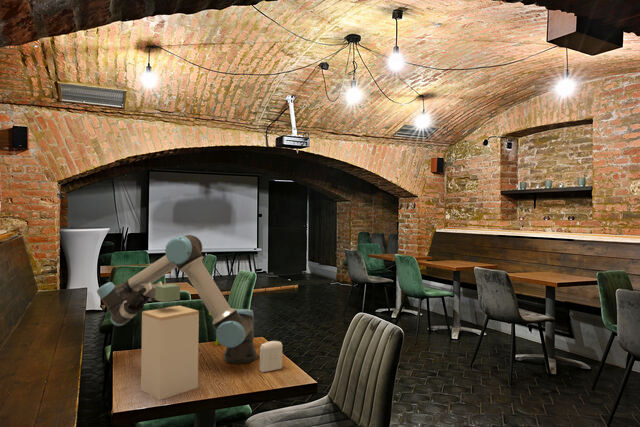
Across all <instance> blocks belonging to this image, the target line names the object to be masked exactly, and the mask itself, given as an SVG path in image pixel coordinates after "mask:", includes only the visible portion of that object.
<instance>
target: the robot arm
mask: <svg viewBox="0 0 640 427" xmlns="http://www.w3.org/2000/svg"><path fill="white" fill-rule="evenodd" d="M164 251H165V252H164V253H165V255H163V256H162V257H160V258H159V259H157V260H156V261H154V262H152V263H151V264H150V265H149V266H147V267H146V268H144V269H142V270H141V271H139V272H138V273H136V274H134V275H133V276H132V277H130V278H128V279H127V280H125V281H124V282H122V283H121V284H117V285H116V284H114V283H113V282H111V281H109V282H106V283H104V284H103V285H101V286H100V287H99V288H97V290H96V293H97V295H98V298H99V299H101V300H100V301H102V303H103V304H104V306H105V307H106V309H107V310H108V312H109V313H110V318H109V320H110V322H111V323H112V324H113V325H114V326H117V327H121V326H124V325H126V324H127V323H128V322H130V321H131V319H133V318H134V317H135V316H136V315H137V314H138V313H140V312H141V311H142V310H143V309H144V307H145V304H147V303H148V302H152V303H153V302H155V301H156V300H155V298H152V297H148V296H144V295H146V294H147V293H148V292H149V291H150V290H151V289H152V286H151V284H153V283H154V282H156V281H157V280H159V279H160V278H162V277H164V276H165V275H166V274H168V273H170V272H172V271H173V270H174V269H176V268H177V269H178V271H179V272H181V273H185V275H186V276H187V278H188V281H190V283H191V285H192V286H193V288H194V290H195V291H196V293H197V295H198V296H199V298H200V299H201V301H202V303H203V304H204V306H205V308H206V309H207V311H208V313H209V312H210V314H211V315H210V316H211V317H212V319H213V321H212V326H213V328H214V329H215V331H216V334H215V336H216V337H217V340H218V341H219V344H220V345H222V346H223V347H225V351H224V354H223V359H224V361H225V362H226V363H229V364H237V365H238V364H242V365H243V364H248V363H251V362H254V361H256V360H257V359H258V353H257V350H256V347H255V343H254V320H255V319H254V318H255V316H254V311H253V310H252V309H247V308H232V307H231V306H230V304H229V303H228V301H227V300H226V298H225V297H224V295H223V294H222V292H221V290H220V288H219V287H218V285H217V284H216V282H215V280H214V279H213V277H212V276H211V274H210V272H209V271H208V269H207V268H206V266H205V264H204V262H203V259H204V256H203V254H202V251H203V243H202V241H201V239H199V237H198V236H195V235H192V234H187V235H178V236H175V237H173V238H171V239H170V240H169V241H168V242H167V244H166V246H165V249H164ZM140 284H147V285H146V286H145V287H144V288H142V289H141V290H139V285H140ZM155 285H157V286H158V285H163V282H162V281H158V282H157V283H156V284H155Z"/></svg>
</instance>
